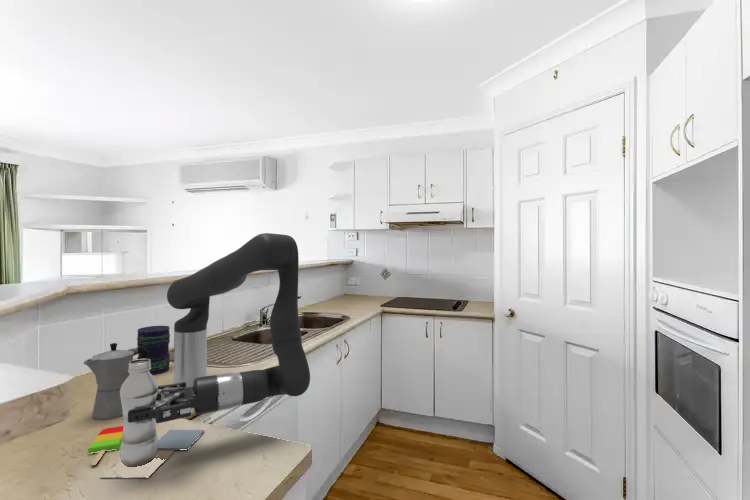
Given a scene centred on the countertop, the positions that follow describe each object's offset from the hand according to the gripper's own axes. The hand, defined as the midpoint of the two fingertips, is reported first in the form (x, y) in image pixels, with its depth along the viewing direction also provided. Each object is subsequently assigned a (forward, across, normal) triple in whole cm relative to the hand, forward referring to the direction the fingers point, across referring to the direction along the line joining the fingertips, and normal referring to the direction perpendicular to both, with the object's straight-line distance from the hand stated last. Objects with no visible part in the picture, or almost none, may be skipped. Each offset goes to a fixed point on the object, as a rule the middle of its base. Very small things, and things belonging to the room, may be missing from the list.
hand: (129, 408), depth 73 cm
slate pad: (-9, -6, +12) cm, 16 cm away
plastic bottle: (-2, 0, +11) cm, 11 cm away
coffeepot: (+4, -32, +12) cm, 34 cm away
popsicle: (+5, -11, +12) cm, 17 cm away
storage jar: (-4, -64, +12) cm, 66 cm away
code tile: (-2, 0, +12) cm, 12 cm away
